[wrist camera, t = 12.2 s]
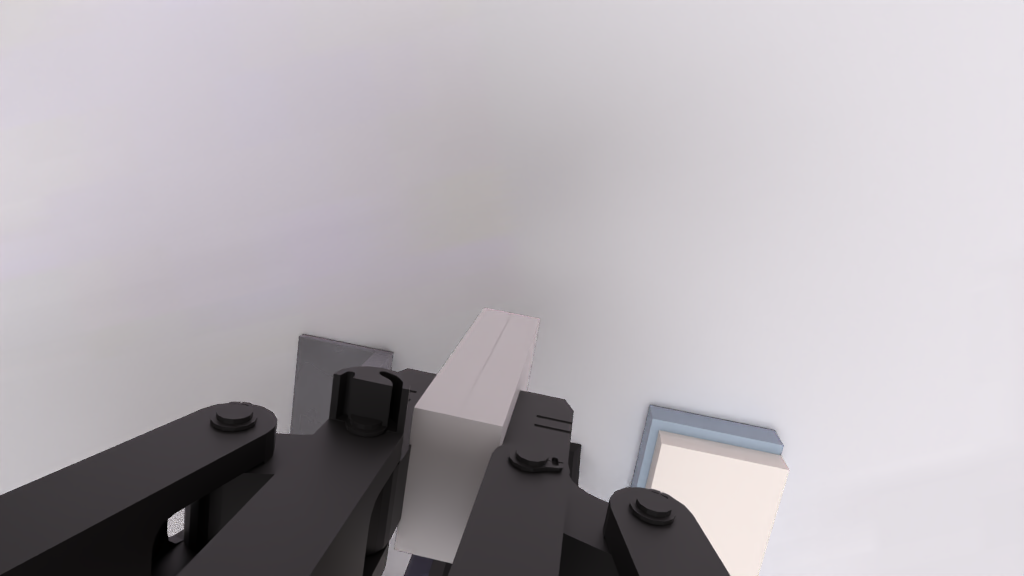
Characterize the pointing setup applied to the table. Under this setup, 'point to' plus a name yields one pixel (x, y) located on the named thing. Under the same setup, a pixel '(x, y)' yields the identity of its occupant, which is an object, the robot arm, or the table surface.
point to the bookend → (325, 377)
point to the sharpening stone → (717, 479)
